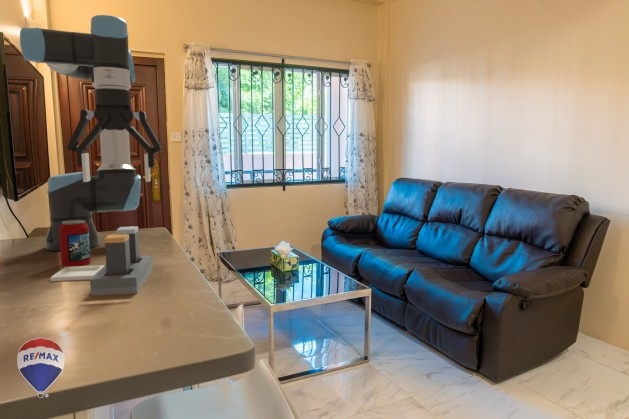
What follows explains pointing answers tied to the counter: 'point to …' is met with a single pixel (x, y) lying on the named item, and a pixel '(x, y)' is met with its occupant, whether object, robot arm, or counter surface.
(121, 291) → the grey socket block
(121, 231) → the twin plug
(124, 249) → the plug
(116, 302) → the counter surface
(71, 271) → the tray
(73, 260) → the beverage can
